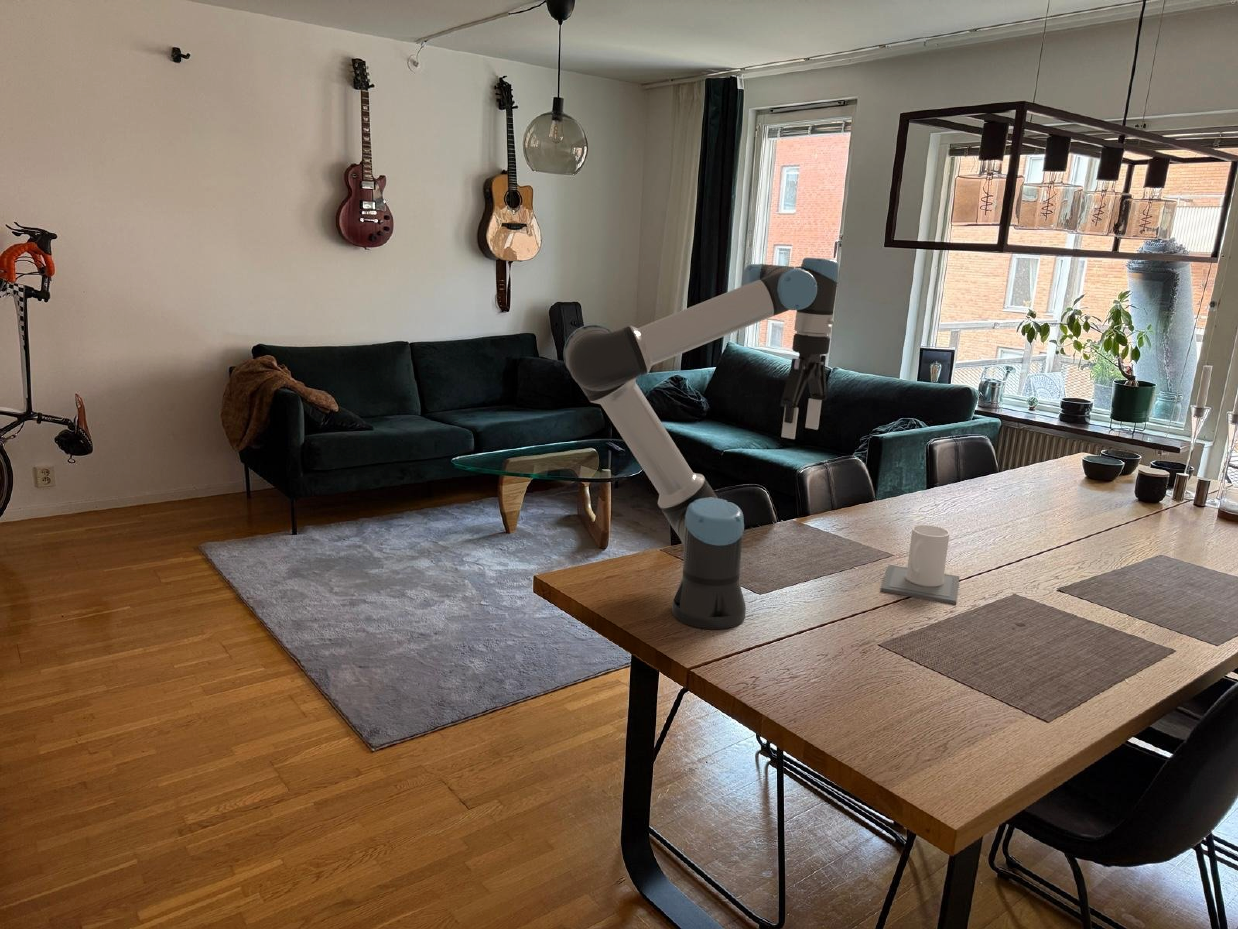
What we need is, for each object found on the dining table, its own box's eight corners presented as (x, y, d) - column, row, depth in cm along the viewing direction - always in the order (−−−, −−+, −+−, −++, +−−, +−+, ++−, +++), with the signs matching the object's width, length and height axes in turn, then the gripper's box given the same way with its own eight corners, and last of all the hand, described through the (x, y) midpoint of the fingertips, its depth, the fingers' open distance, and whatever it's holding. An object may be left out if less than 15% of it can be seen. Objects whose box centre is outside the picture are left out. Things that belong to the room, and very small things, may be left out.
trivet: (956, 604, 193) (956, 600, 193) (880, 591, 199) (880, 587, 199) (959, 579, 207) (959, 576, 207) (888, 567, 213) (888, 564, 213)
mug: (921, 593, 196) (928, 542, 193) (889, 580, 202) (895, 531, 199) (951, 581, 203) (958, 532, 200) (918, 570, 210) (925, 522, 207)
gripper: (807, 339, 173) (794, 445, 178) (849, 332, 193) (836, 427, 198) (771, 335, 176) (760, 438, 182) (816, 328, 197) (805, 422, 202)
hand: (800, 433), depth 190 cm, fingers open, 13 cm apart
